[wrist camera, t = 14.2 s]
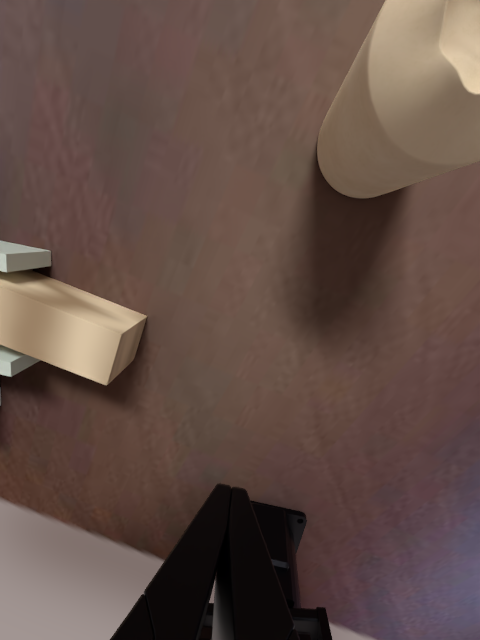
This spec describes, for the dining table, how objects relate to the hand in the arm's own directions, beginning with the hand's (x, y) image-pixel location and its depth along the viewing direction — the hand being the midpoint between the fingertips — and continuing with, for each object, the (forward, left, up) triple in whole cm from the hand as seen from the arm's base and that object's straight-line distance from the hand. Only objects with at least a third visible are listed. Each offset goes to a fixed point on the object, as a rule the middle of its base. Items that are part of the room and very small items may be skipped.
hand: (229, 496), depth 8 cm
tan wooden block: (0, +12, -12) cm, 17 cm away
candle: (+13, -4, -12) cm, 18 cm away
